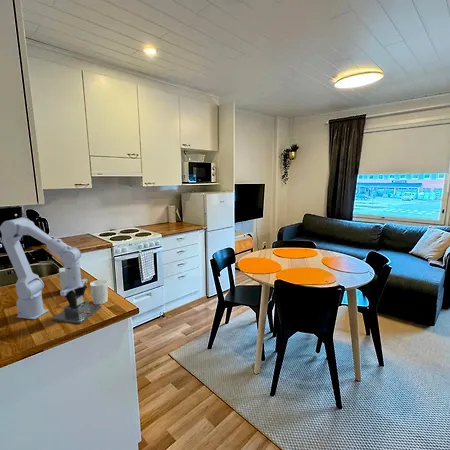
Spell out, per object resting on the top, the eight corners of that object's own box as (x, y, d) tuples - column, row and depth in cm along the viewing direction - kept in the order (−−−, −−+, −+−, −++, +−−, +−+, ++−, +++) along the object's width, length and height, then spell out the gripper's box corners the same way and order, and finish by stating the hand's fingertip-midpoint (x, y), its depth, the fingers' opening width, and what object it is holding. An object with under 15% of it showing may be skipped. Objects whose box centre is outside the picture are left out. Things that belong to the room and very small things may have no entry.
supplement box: (77, 291, 146) (75, 269, 144) (61, 294, 142) (59, 272, 140) (76, 286, 152) (73, 265, 150) (60, 289, 148) (58, 268, 146)
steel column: (70, 313, 121) (68, 298, 120) (76, 308, 125) (75, 294, 124) (78, 314, 121) (76, 299, 119) (84, 309, 125) (82, 295, 123)
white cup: (111, 301, 135) (110, 282, 133) (95, 306, 130) (93, 287, 128) (104, 296, 140) (103, 278, 139) (89, 301, 135) (87, 282, 133)
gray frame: (52, 320, 118) (50, 310, 117) (75, 305, 131) (74, 296, 130) (80, 323, 115) (79, 313, 114) (101, 307, 129) (100, 298, 128)
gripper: (69, 282, 112) (72, 312, 114) (92, 270, 126) (94, 297, 128) (54, 281, 113) (58, 311, 116) (78, 269, 127) (81, 296, 130)
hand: (76, 303), depth 122 cm, fingers closed on steel column, 4 cm apart
